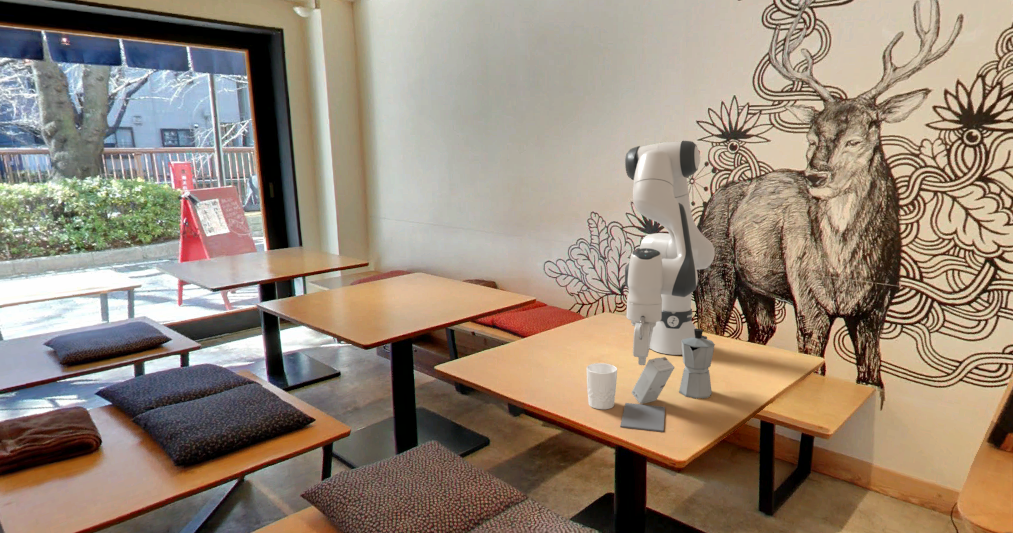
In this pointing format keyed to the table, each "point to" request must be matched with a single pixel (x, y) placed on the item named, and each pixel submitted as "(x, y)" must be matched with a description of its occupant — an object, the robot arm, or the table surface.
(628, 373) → the table surface
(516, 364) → the table surface
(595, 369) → the white cup
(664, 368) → the skincare box
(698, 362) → the coffee maker
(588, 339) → the table surface
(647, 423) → the mat
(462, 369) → the table surface
